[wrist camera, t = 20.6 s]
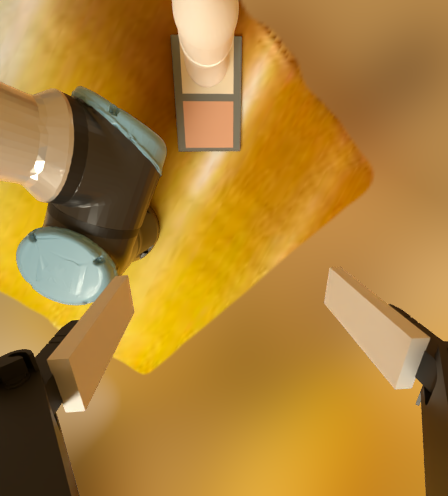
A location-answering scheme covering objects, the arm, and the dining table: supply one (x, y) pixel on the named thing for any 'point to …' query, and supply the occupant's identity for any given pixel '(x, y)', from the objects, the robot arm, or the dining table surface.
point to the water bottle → (206, 37)
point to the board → (208, 105)
